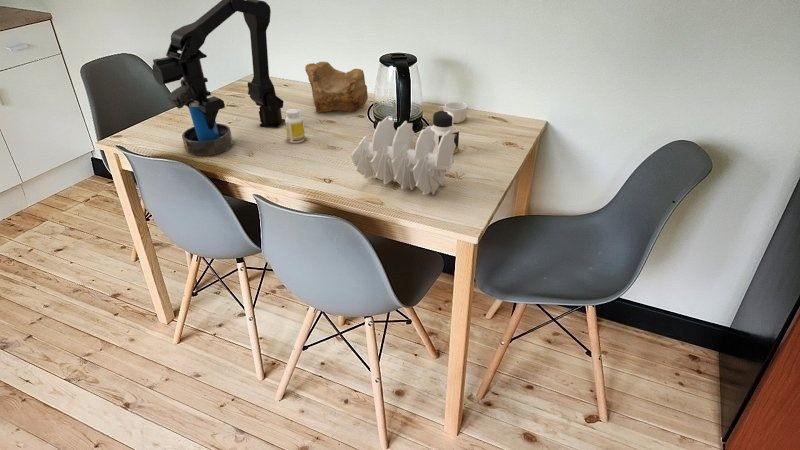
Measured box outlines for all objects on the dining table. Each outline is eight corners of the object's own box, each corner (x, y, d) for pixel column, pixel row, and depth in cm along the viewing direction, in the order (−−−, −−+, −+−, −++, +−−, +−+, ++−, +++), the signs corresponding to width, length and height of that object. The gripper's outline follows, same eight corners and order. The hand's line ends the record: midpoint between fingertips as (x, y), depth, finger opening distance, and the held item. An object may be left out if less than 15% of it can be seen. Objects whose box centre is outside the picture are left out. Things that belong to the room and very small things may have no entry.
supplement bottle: (308, 138, 172) (304, 109, 166) (298, 144, 167) (294, 115, 162) (294, 135, 173) (290, 106, 168) (284, 141, 169) (280, 112, 164)
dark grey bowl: (240, 139, 171) (238, 124, 169) (219, 159, 160) (216, 143, 157) (200, 136, 174) (197, 121, 171) (176, 155, 162) (172, 140, 160)
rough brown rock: (293, 114, 191) (286, 74, 181) (315, 95, 203) (310, 56, 193) (351, 125, 184) (348, 84, 174) (371, 104, 196) (369, 65, 186)
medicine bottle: (438, 157, 159) (439, 119, 152) (426, 148, 164) (426, 111, 157) (458, 152, 161) (460, 114, 155) (446, 143, 167) (447, 106, 160)
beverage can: (213, 144, 162) (203, 106, 156) (194, 144, 164) (183, 106, 157) (223, 136, 168) (214, 99, 161) (205, 135, 169) (195, 99, 163)
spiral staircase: (377, 180, 155) (456, 196, 145) (344, 181, 140) (430, 199, 129) (386, 117, 152) (468, 129, 142) (353, 111, 137) (442, 123, 126)
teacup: (469, 118, 184) (470, 103, 181) (463, 126, 178) (464, 111, 175) (442, 114, 187) (442, 99, 184) (434, 122, 181) (435, 107, 178)
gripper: (151, 76, 155) (165, 126, 163) (184, 90, 144) (197, 142, 153) (186, 66, 162) (198, 115, 170) (220, 79, 151) (230, 130, 160)
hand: (205, 125), depth 163 cm, fingers closed on beverage can, 6 cm apart
